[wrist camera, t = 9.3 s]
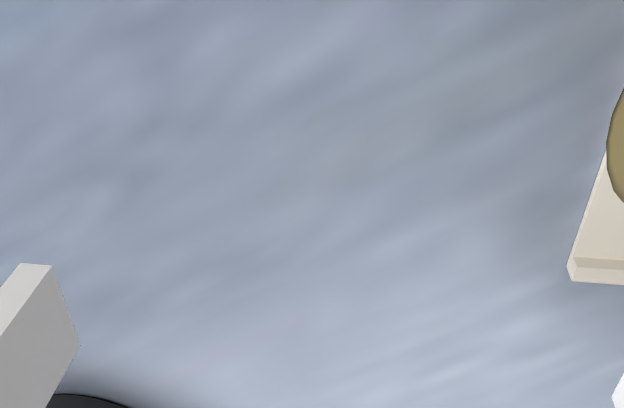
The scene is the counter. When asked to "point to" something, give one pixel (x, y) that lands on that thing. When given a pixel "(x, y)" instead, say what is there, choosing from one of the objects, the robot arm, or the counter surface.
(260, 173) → the counter surface
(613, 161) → the squeeze bottle
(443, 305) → the counter surface
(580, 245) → the tray
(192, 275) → the counter surface
